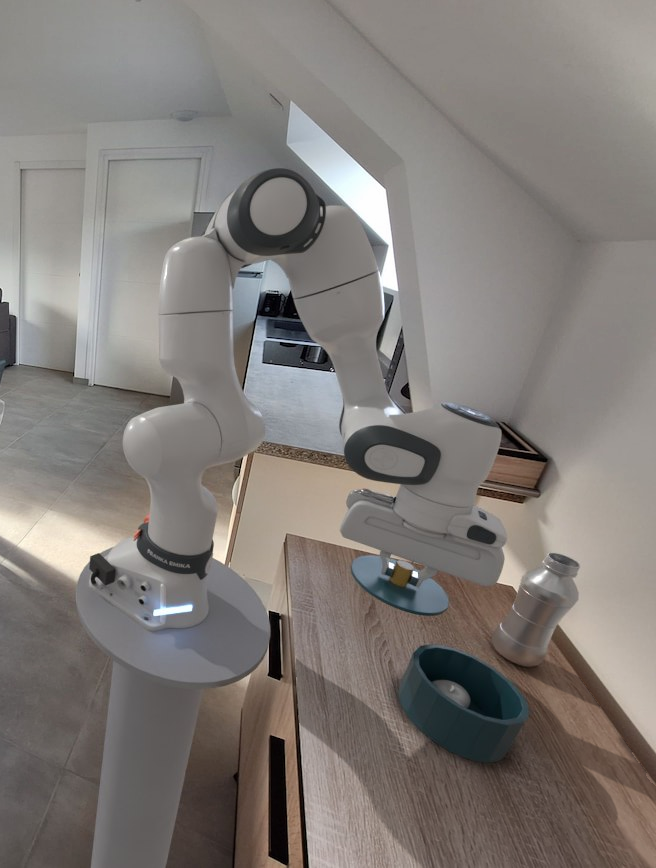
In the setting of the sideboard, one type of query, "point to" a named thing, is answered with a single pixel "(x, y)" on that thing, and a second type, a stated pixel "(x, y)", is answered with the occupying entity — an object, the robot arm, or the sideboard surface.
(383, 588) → the tin lid
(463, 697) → the pale two-lobed sculpture
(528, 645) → the silver bottle
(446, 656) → the tin
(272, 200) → the robot arm
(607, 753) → the sideboard surface
